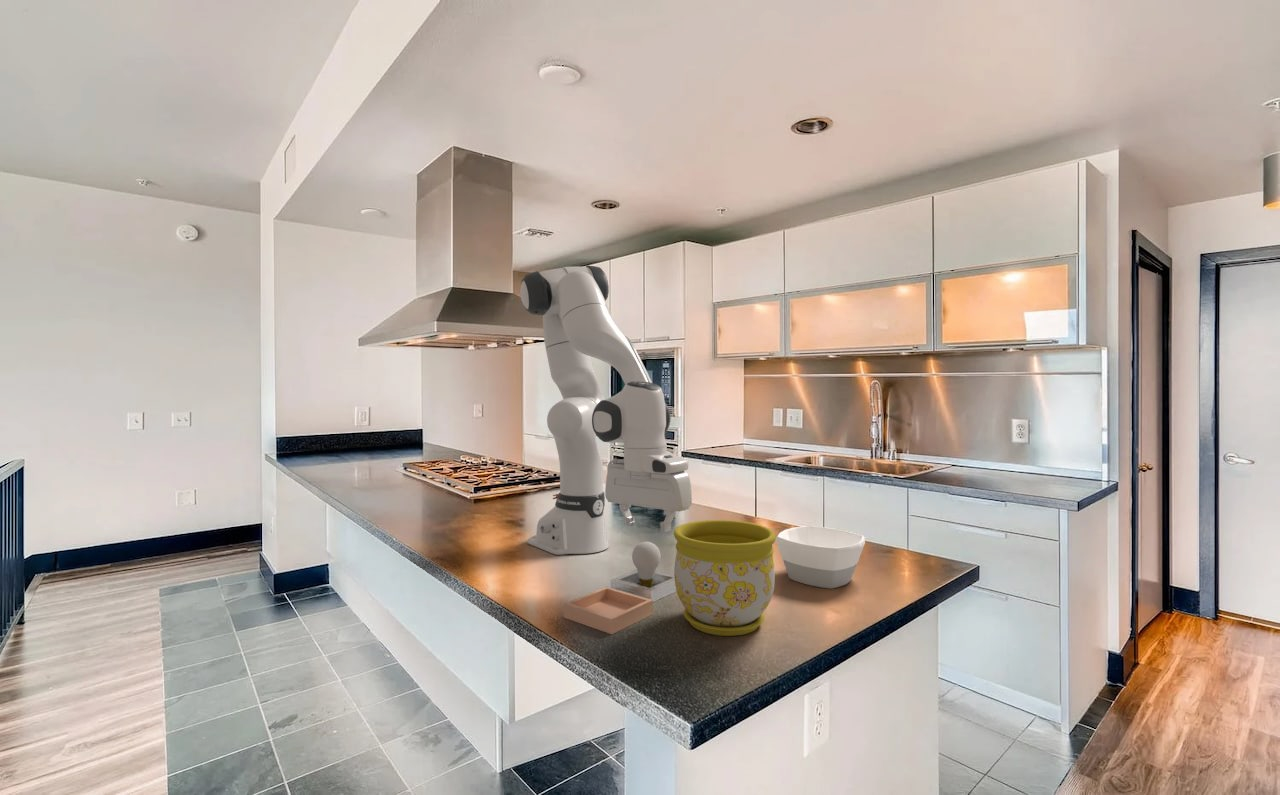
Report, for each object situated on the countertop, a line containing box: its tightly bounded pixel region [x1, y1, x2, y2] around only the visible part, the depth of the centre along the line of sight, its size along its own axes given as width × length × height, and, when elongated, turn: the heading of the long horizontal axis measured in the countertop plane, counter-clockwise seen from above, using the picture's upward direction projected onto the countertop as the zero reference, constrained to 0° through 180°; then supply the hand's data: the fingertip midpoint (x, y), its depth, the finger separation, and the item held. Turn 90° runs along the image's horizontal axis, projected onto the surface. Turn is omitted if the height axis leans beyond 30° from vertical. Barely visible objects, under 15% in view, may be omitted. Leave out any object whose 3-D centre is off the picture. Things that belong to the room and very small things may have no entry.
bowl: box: [775, 525, 866, 590], centre depth 132 cm, size 18×18×9 cm
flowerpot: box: [673, 519, 777, 637], centre depth 108 cm, size 18×18×16 cm
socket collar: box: [610, 569, 677, 603], centre depth 125 cm, size 10×10×2 cm
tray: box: [563, 586, 654, 635], centre depth 111 cm, size 12×12×3 cm
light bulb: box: [631, 541, 662, 588], centre depth 124 cm, size 6×6×10 cm
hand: (647, 528), depth 124 cm, fingers open, 8 cm apart
